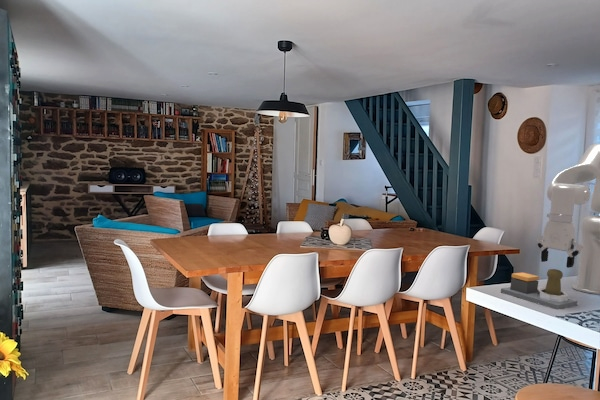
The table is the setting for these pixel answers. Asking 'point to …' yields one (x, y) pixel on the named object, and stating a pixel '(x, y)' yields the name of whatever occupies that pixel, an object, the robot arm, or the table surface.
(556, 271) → the cork
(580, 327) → the table surface
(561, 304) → the grey base plate
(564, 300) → the ring
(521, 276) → the button
